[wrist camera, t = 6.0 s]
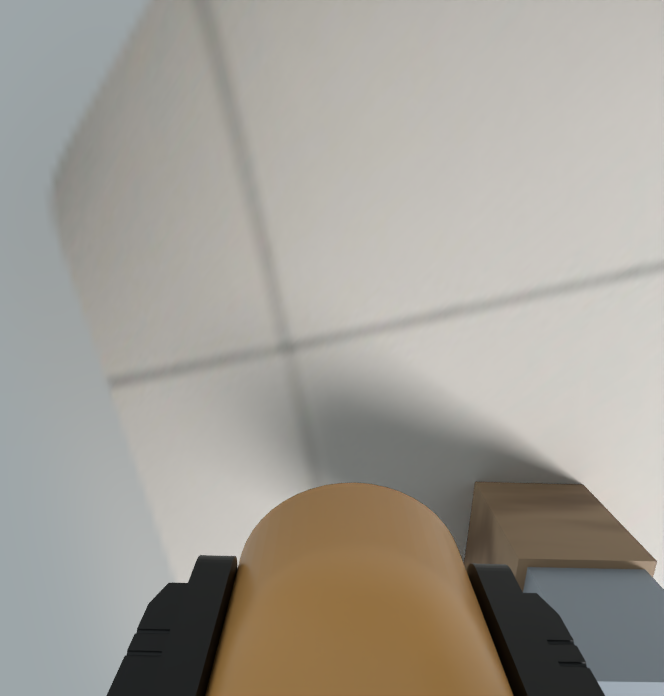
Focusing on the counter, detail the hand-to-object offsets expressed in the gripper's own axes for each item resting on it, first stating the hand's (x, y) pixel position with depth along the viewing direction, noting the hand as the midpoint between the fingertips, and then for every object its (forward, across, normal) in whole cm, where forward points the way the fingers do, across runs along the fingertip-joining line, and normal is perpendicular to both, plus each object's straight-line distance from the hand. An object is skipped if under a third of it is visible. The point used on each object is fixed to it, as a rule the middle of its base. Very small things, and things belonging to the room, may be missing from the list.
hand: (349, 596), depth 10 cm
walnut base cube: (+19, -13, +12) cm, 26 cm away
